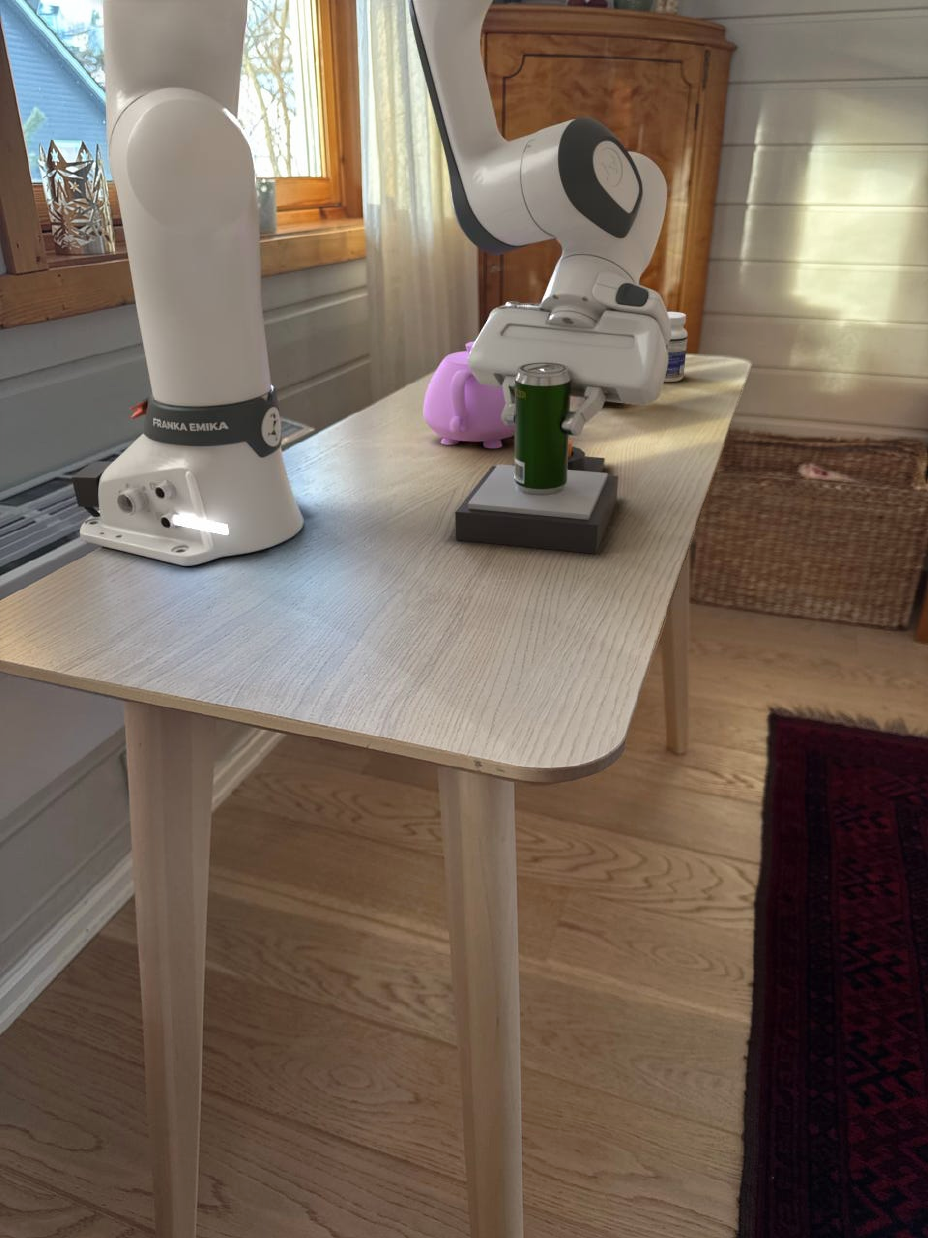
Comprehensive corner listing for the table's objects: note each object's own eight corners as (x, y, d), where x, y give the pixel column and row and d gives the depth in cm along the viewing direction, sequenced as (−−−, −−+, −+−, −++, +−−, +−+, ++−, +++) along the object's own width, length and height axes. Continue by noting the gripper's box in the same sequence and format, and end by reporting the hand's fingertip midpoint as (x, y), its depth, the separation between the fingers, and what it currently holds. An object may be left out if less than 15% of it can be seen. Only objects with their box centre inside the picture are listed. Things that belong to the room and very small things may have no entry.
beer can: (535, 500, 88) (538, 377, 82) (503, 484, 92) (504, 366, 86) (577, 488, 91) (583, 369, 85) (544, 474, 95) (548, 359, 89)
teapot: (452, 411, 130) (450, 324, 124) (548, 417, 126) (550, 328, 120) (403, 453, 113) (398, 355, 107) (512, 463, 109) (513, 361, 103)
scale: (455, 539, 89) (454, 505, 87) (491, 491, 101) (491, 460, 99) (596, 554, 85) (597, 519, 84) (616, 502, 97) (618, 470, 95)
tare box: (502, 489, 101) (502, 463, 100) (522, 460, 110) (523, 437, 108) (590, 496, 99) (591, 470, 97) (604, 467, 107) (605, 442, 106)
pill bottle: (640, 376, 146) (645, 312, 141) (672, 372, 147) (678, 309, 143) (657, 384, 141) (663, 318, 136) (690, 381, 143) (696, 315, 138)
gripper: (485, 281, 93) (437, 397, 90) (676, 295, 83) (628, 425, 81) (506, 318, 98) (461, 429, 96) (687, 335, 89) (643, 459, 86)
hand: (539, 427), depth 88 cm, fingers closed on beer can, 5 cm apart
